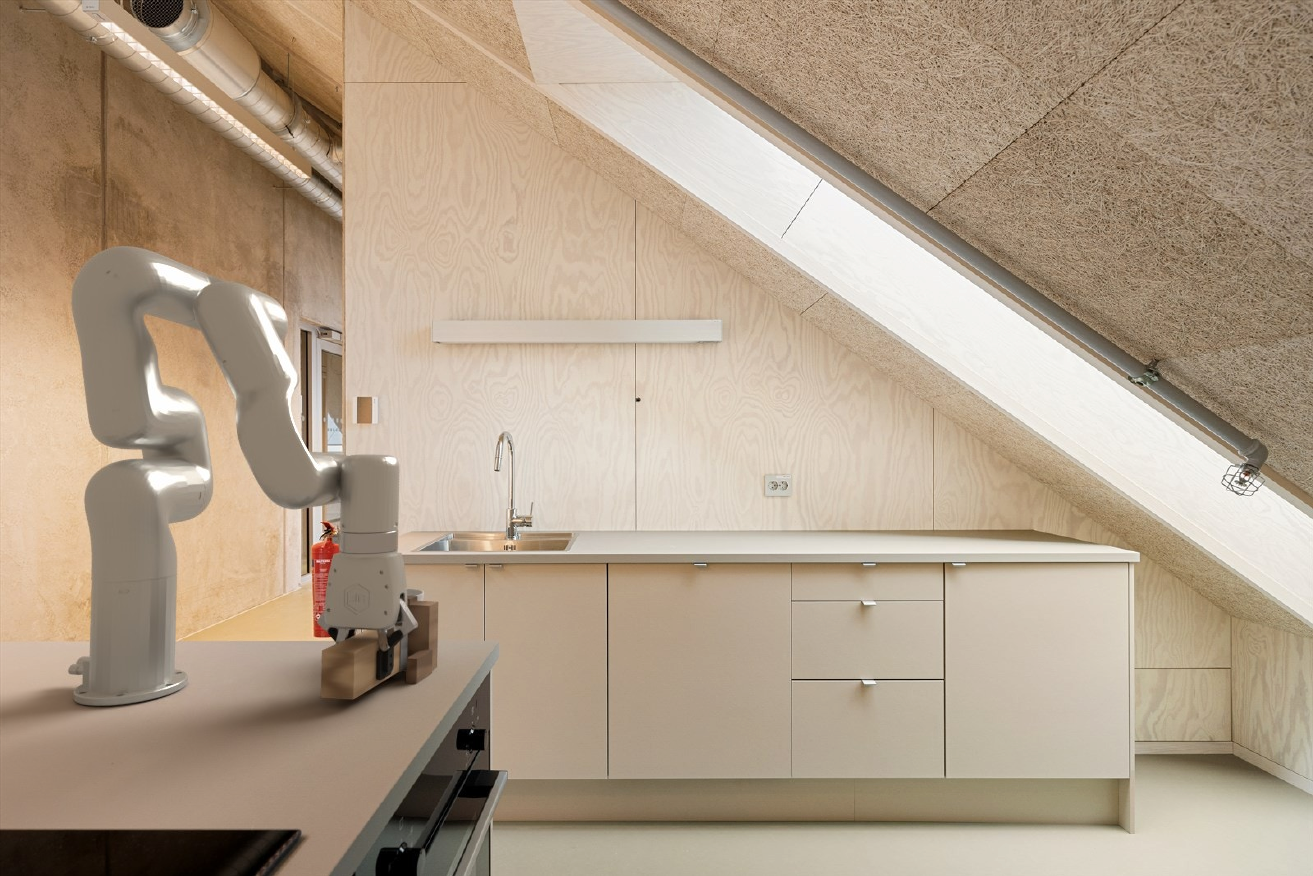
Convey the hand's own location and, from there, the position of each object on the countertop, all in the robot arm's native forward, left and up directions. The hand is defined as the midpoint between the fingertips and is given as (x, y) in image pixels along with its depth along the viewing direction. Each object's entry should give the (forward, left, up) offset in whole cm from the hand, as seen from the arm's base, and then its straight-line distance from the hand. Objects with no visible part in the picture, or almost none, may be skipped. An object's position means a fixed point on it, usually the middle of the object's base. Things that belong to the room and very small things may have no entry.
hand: (366, 674), depth 100 cm
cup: (-5, +18, -3) cm, 18 cm away
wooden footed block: (0, +9, -2) cm, 9 cm away
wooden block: (0, 0, -1) cm, 1 cm away
